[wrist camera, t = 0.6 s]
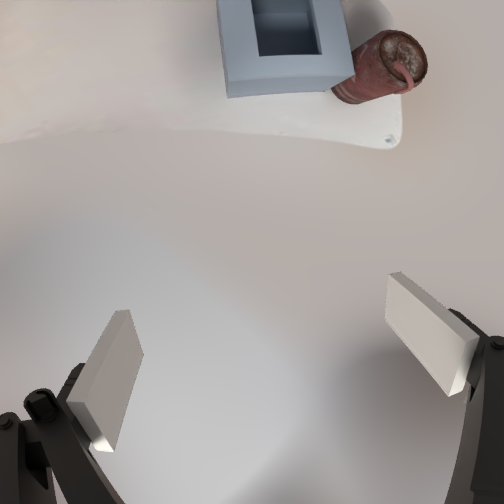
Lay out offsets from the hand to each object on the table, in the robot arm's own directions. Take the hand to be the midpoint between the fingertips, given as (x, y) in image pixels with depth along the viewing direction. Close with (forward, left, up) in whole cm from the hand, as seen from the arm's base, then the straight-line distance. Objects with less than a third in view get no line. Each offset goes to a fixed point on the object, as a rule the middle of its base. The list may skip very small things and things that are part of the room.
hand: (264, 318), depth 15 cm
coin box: (-21, +6, -25) cm, 33 cm away
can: (-16, +16, -25) cm, 34 cm away
